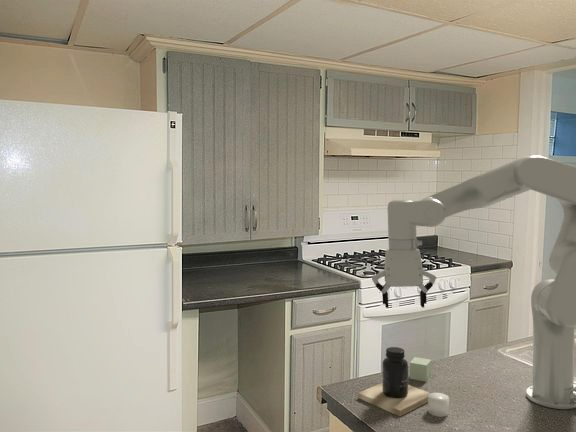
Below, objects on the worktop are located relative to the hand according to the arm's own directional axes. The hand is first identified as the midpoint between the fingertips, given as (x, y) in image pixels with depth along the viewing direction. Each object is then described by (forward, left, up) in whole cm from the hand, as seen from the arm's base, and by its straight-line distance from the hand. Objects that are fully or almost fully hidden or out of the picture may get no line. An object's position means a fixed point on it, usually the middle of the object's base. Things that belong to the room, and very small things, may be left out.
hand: (404, 306), depth 135 cm
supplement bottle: (-2, +6, -23) cm, 23 cm away
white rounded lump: (-14, +4, -24) cm, 28 cm away
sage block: (+2, -11, -24) cm, 26 cm away
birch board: (-2, +6, -24) cm, 25 cm away
